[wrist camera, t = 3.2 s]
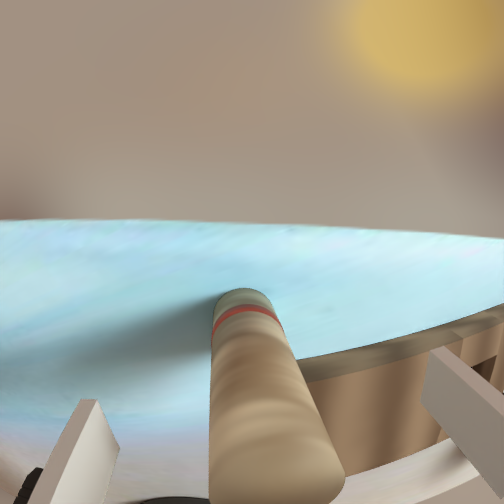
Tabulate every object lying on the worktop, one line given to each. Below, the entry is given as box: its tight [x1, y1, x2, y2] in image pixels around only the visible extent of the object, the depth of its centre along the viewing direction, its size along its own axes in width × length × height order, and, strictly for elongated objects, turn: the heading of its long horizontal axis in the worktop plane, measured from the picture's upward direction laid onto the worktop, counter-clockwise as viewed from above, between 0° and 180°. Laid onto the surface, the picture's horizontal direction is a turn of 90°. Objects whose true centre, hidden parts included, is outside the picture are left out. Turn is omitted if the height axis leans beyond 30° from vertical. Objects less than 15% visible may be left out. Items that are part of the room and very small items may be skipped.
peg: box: [209, 288, 345, 504], centre depth 14 cm, size 4×4×14 cm
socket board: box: [296, 303, 504, 477], centre depth 23 cm, size 22×12×3 cm, turn 96°
